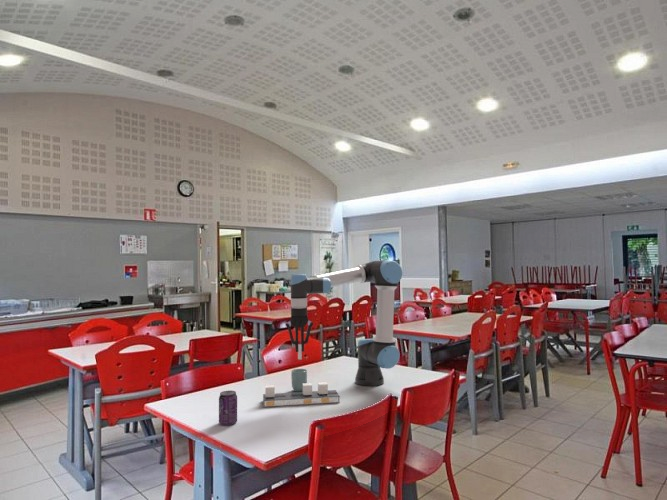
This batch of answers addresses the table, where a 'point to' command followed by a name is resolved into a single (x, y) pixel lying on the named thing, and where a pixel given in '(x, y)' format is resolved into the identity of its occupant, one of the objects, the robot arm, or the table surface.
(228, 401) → the beverage can
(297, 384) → the cup
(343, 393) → the table surface
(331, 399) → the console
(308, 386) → the slider
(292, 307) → the robot arm
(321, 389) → the slider
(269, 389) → the slider
